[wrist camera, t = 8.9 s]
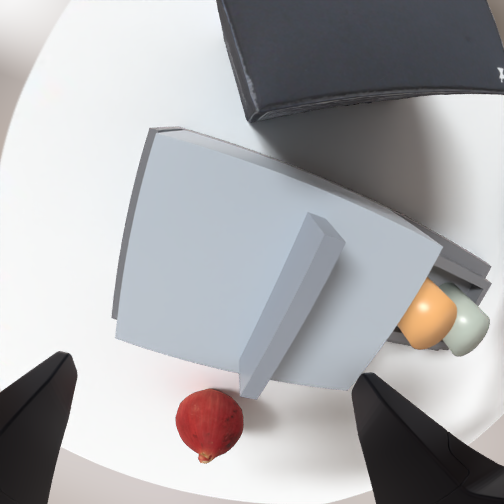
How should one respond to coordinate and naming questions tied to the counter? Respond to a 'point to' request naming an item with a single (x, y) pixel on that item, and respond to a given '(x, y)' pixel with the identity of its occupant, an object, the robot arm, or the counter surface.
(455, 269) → the housing
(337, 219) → the lid
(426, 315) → the orange rounded tapered piece
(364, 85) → the small box
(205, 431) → the onion
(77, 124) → the counter surface
